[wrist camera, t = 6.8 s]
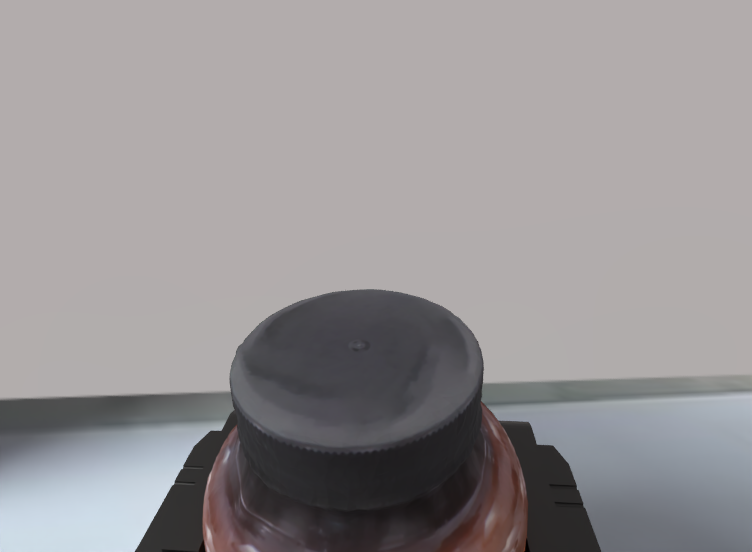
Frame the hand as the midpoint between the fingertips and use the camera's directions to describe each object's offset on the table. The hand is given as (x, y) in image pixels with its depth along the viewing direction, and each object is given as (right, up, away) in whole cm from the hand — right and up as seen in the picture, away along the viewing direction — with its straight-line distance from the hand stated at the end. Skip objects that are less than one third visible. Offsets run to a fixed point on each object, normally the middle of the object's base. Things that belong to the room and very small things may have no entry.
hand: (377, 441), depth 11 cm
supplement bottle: (0, -7, +1) cm, 7 cm away
